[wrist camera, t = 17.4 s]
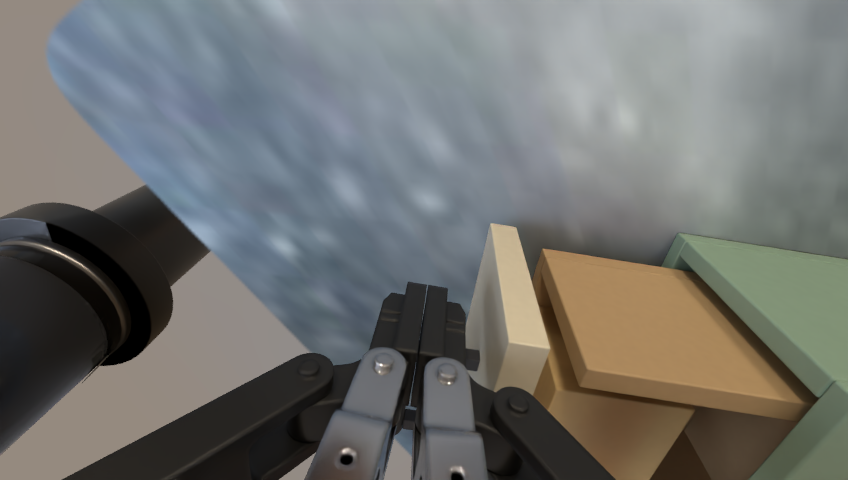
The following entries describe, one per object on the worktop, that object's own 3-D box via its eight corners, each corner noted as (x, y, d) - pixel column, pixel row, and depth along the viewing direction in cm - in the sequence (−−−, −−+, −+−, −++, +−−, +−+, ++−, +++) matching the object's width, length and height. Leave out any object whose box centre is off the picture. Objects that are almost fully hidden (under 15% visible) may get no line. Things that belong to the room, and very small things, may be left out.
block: (509, 379, 21) (522, 473, 17) (533, 304, 19) (556, 389, 14) (604, 394, 21) (642, 491, 16) (640, 320, 19) (696, 410, 14)
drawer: (383, 385, 23) (351, 532, 17) (405, 209, 18) (371, 319, 11) (677, 432, 23) (767, 600, 16) (787, 269, 18) (989, 418, 11)
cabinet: (587, 412, 24) (655, 616, 16) (677, 232, 18) (860, 403, 10) (825, 451, 24) (1019, 676, 16) (991, 281, 18) (1445, 496, 10)
